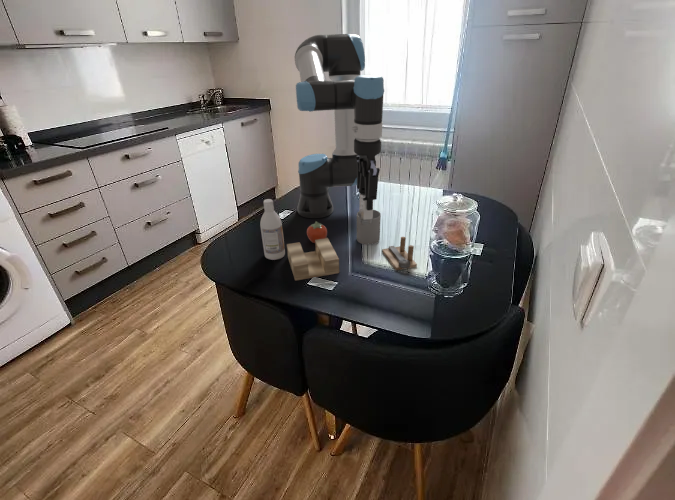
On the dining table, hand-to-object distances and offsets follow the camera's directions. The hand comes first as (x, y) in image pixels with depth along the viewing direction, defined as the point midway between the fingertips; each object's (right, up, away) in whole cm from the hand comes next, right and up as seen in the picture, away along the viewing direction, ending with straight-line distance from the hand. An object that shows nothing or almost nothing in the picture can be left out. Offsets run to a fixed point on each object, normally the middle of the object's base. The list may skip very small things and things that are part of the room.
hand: (365, 215), depth 111 cm
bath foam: (-30, -12, +13) cm, 35 cm away
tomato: (-16, -7, +20) cm, 27 cm away
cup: (+2, -7, +21) cm, 22 cm away
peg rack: (+11, -13, +9) cm, 20 cm away
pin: (0, -2, +1) cm, 2 cm away
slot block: (-17, -15, +7) cm, 24 cm away
